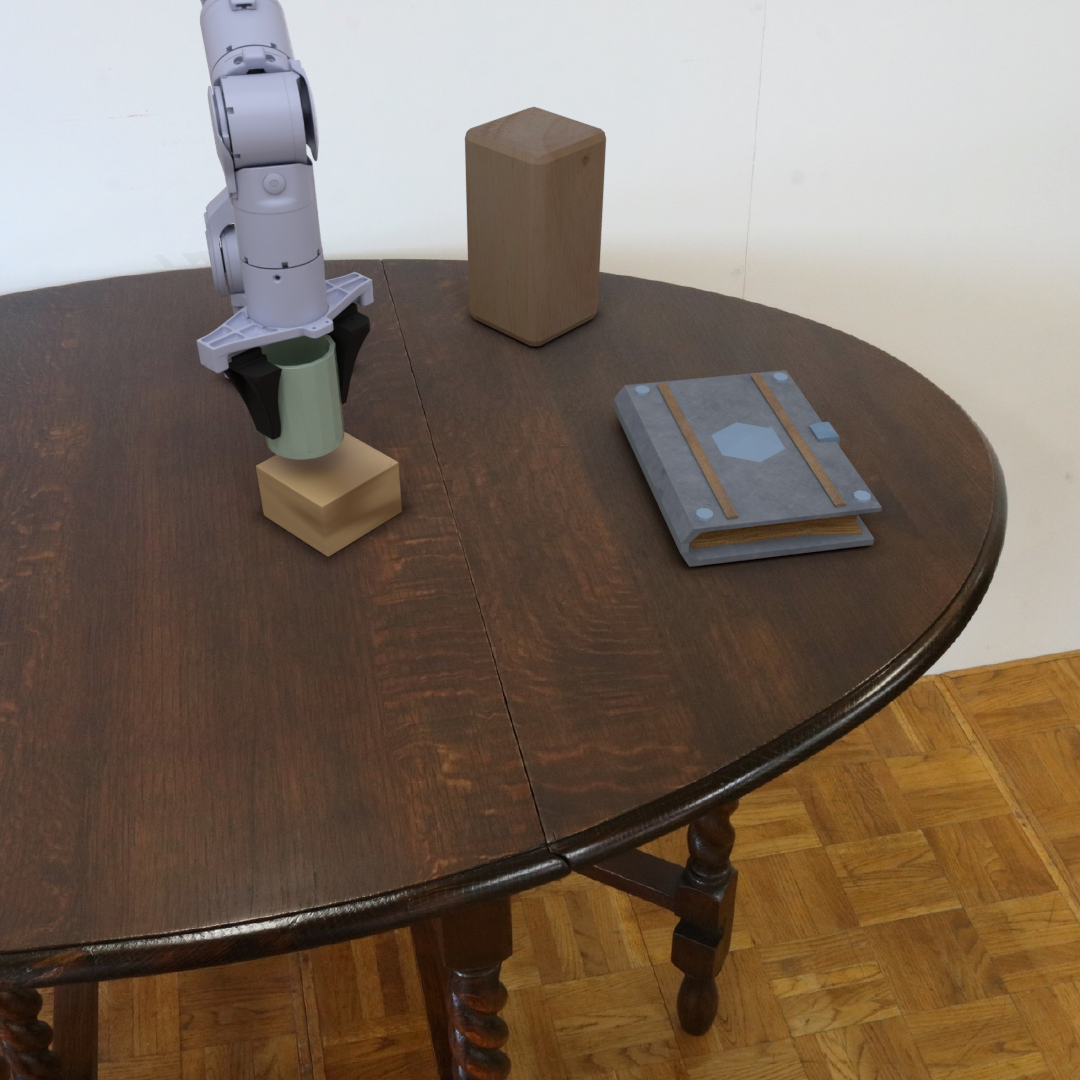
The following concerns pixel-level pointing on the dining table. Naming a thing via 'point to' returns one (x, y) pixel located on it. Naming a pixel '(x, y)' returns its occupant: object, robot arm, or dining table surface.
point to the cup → (307, 397)
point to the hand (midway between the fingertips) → (302, 416)
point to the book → (744, 467)
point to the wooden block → (534, 223)
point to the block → (331, 494)
